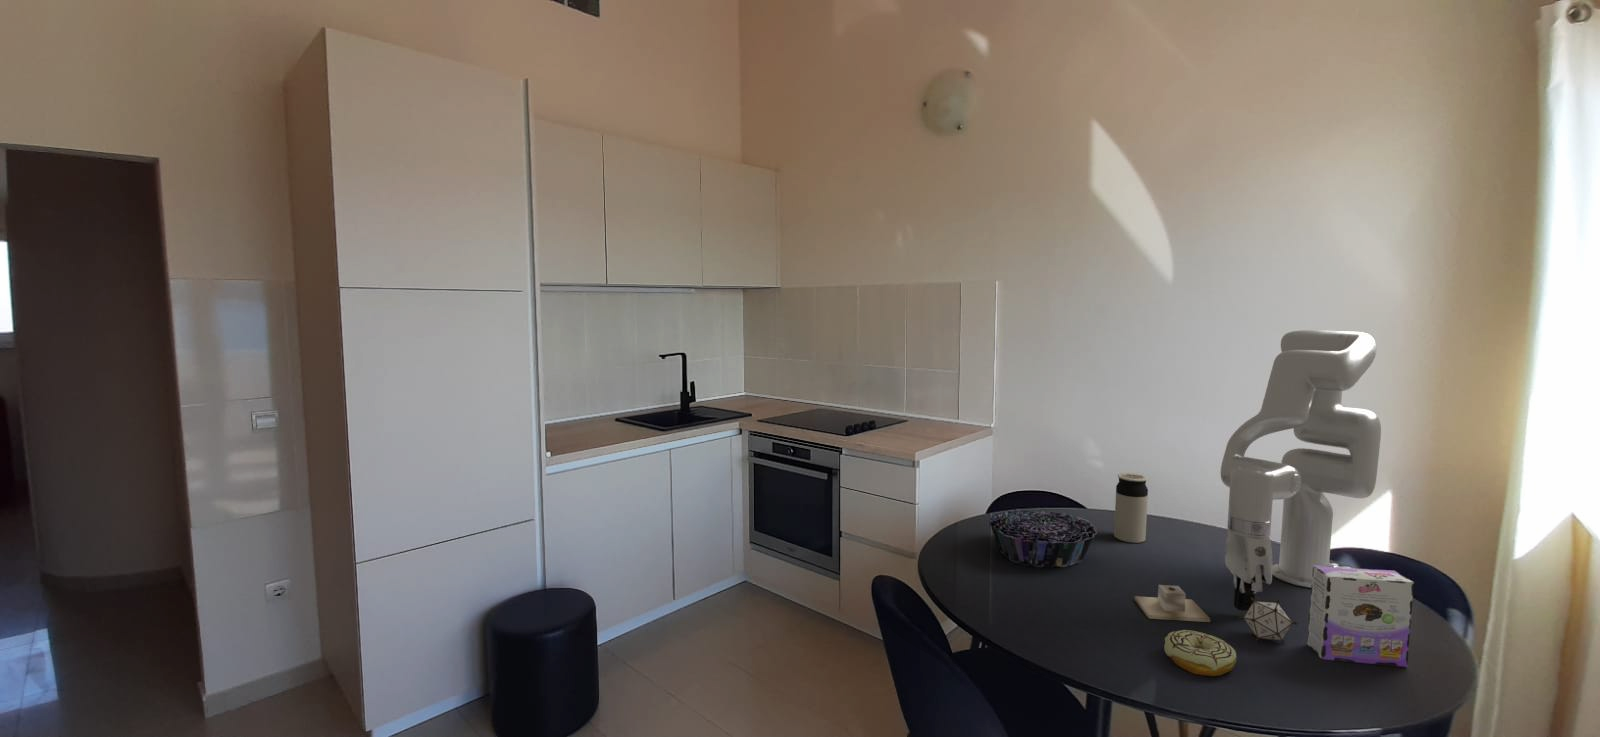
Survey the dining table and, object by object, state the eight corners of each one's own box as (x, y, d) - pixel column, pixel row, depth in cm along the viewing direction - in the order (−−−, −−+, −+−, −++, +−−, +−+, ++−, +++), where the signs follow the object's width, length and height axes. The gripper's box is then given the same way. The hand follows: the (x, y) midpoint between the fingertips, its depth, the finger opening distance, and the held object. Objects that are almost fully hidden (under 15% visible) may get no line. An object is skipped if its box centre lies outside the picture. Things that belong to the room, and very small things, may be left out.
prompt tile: (1191, 602, 148) (1192, 581, 148) (1210, 622, 139) (1211, 599, 139) (1134, 599, 150) (1135, 578, 150) (1149, 618, 141) (1150, 596, 141)
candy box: (1388, 652, 127) (1395, 569, 126) (1408, 668, 122) (1416, 582, 120) (1305, 644, 131) (1311, 563, 129) (1321, 660, 125) (1328, 575, 123)
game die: (1274, 661, 131) (1293, 639, 124) (1228, 634, 136) (1244, 611, 129) (1289, 629, 135) (1309, 605, 128) (1244, 603, 140) (1261, 579, 133)
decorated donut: (1155, 662, 125) (1156, 642, 124) (1175, 640, 133) (1176, 620, 132) (1225, 687, 117) (1226, 665, 116) (1241, 661, 125) (1243, 640, 124)
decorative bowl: (980, 542, 191) (978, 508, 190) (1077, 536, 190) (1076, 502, 189) (1003, 579, 166) (1001, 541, 165) (1116, 572, 164) (1115, 534, 163)
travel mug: (1150, 543, 184) (1154, 480, 182) (1122, 543, 184) (1124, 480, 182) (1136, 533, 192) (1139, 472, 190) (1109, 533, 192) (1111, 472, 190)
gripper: (1289, 538, 132) (1283, 626, 134) (1249, 514, 147) (1244, 594, 149) (1248, 537, 133) (1243, 624, 135) (1212, 513, 148) (1208, 592, 150)
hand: (1243, 608), depth 142 cm, fingers closed
